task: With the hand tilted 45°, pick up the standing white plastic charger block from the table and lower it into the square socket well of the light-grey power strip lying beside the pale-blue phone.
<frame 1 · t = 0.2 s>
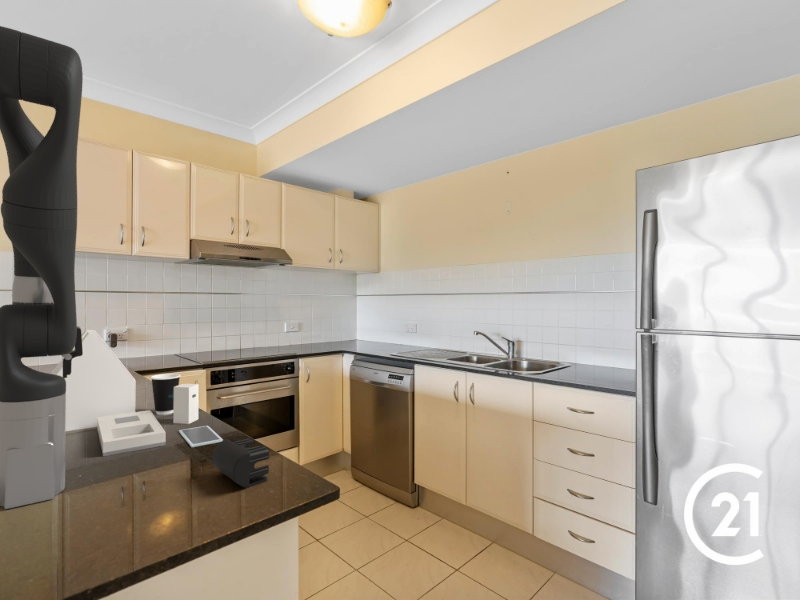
hand: (37, 379, 85), 18 cm above the table, tool pointing down, fingers open, 8 cm apart
milk carton: (90, 421, 117), on the table
dixie cup: (165, 413, 126), on the table
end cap: (240, 480, 81), on the table
phone: (200, 438, 105), on the table
outlet strip: (129, 436, 105), on the table
charger: (186, 421, 118), on the table
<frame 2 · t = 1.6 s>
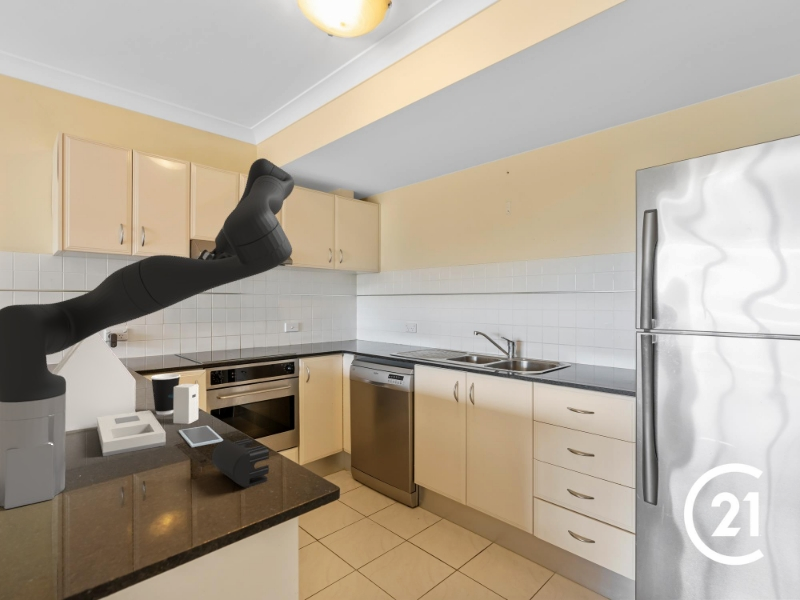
hand: (207, 281, 111), 39 cm above the table, tool tilted 45°, fingers open, 8 cm apart
nothing on the table moved.
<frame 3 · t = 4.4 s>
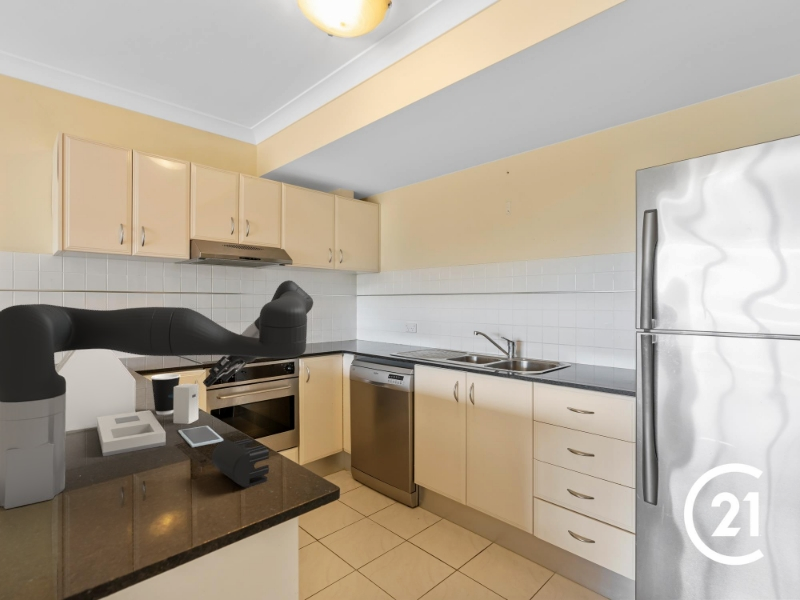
hand: (214, 381, 118), 11 cm above the table, tool tilted 45°, fingers open, 8 cm apart
nothing on the table moved.
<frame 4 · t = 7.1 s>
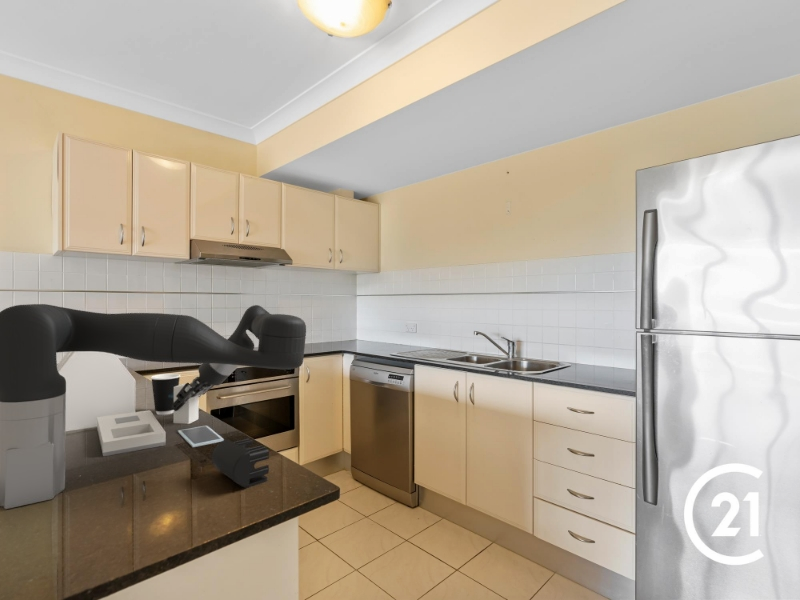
hand: (180, 406, 118), 4 cm above the table, tool tilted 45°, fingers closed on charger, 4 cm apart
charger: (186, 421, 118), on the table, touching gripper
everything else where it was.
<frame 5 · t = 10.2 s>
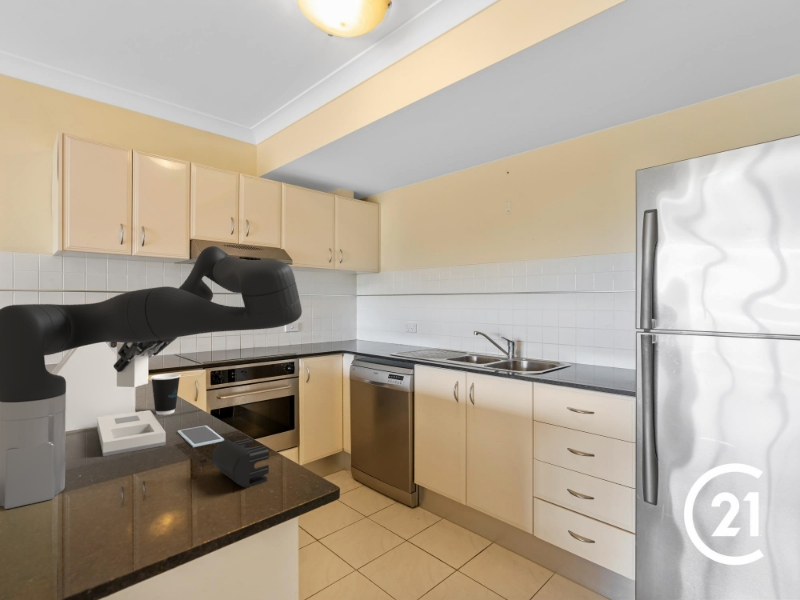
hand: (125, 367, 100), 18 cm above the table, tool tilted 45°, fingers closed on charger, 4 cm apart
charger: (132, 384, 100), point 14 cm above the table, touching gripper
everything else where it was.
when the fingers open (7 cm above the table, at t = 13.2 s): charger drops 2 cm, resting on outlet strip.
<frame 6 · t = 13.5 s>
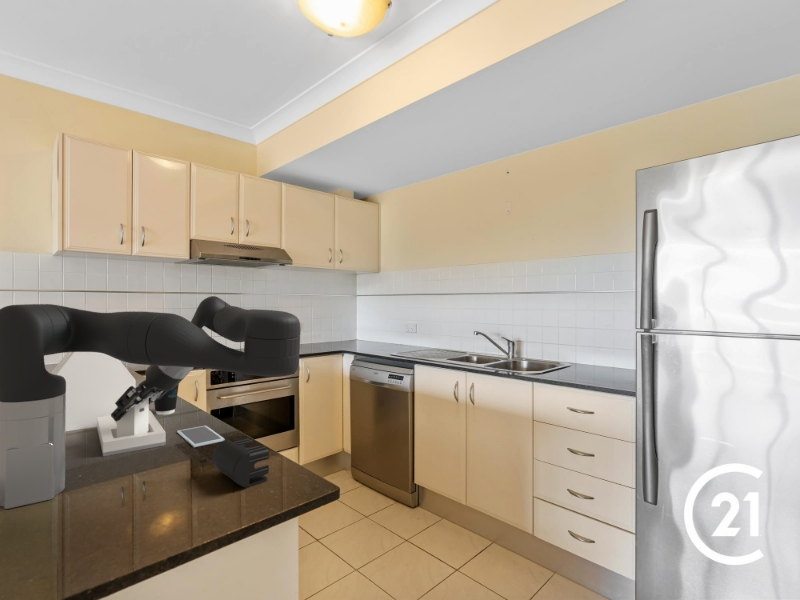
hand: (126, 413, 100), 7 cm above the table, tool tilted 45°, fingers open, 6 cm apart
charger: (132, 439, 100), point 1 cm above the table, touching outlet strip
everything else where it was.
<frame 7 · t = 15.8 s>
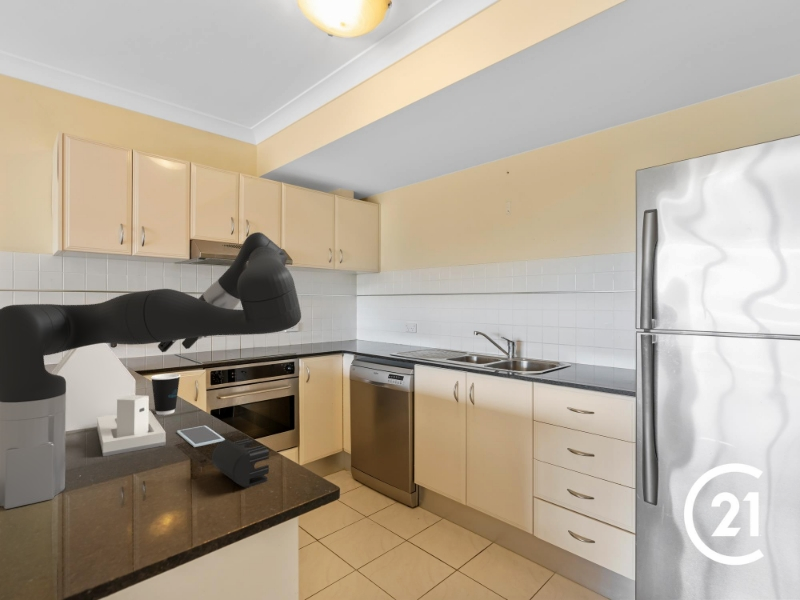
hand: (173, 347, 103), 22 cm above the table, tool tilted 45°, fingers open, 8 cm apart
nothing on the table moved.
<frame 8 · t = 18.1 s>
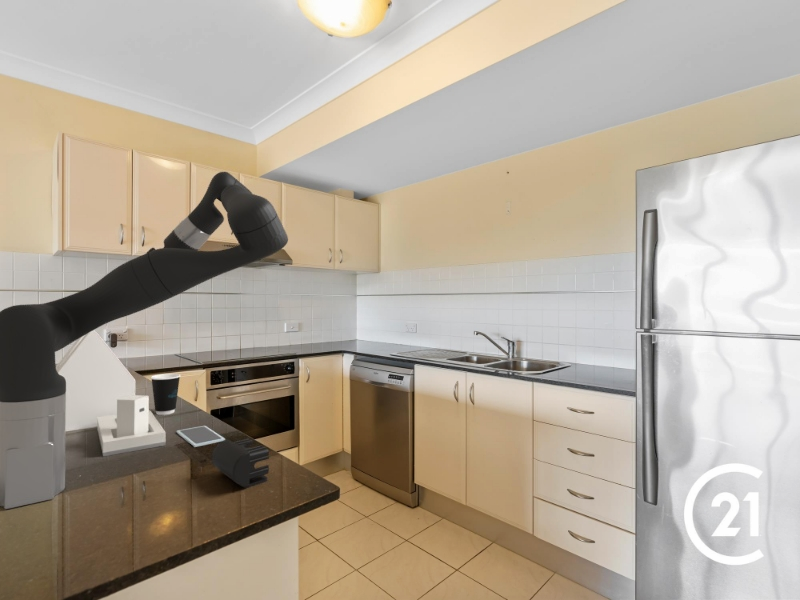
hand: (146, 281, 111), 39 cm above the table, tool tilted 45°, fingers open, 8 cm apart
nothing on the table moved.
at the end: charger 0.1 cm from the target spot on the outlet strip, point 0.8 cm above the outlet strip's base; charger tilted 0°; the gripper is holding nothing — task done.
